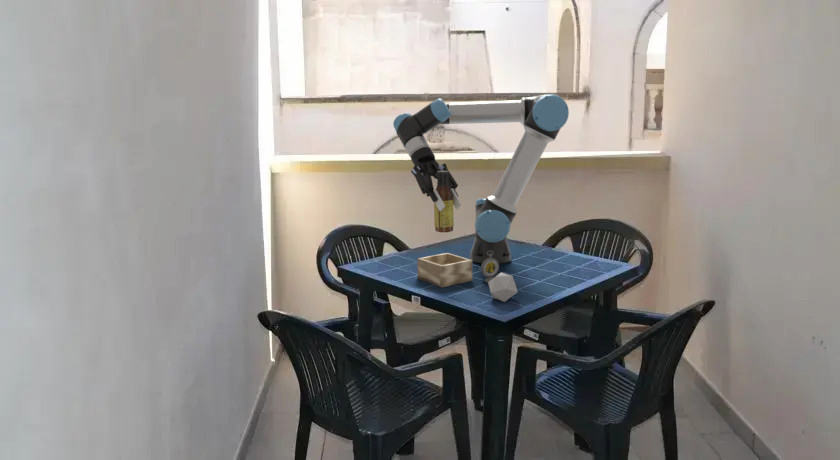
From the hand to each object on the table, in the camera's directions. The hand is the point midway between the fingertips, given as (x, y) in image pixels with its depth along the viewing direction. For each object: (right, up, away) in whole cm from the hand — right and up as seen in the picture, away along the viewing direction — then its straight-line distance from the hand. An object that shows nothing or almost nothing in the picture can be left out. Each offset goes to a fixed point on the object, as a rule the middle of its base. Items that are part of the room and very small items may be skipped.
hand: (450, 207), depth 218 cm
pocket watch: (+15, -25, +5) cm, 29 cm away
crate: (-2, -24, +8) cm, 25 cm away
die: (+15, -28, -13) cm, 35 cm away
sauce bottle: (-2, -8, +5) cm, 9 cm away
